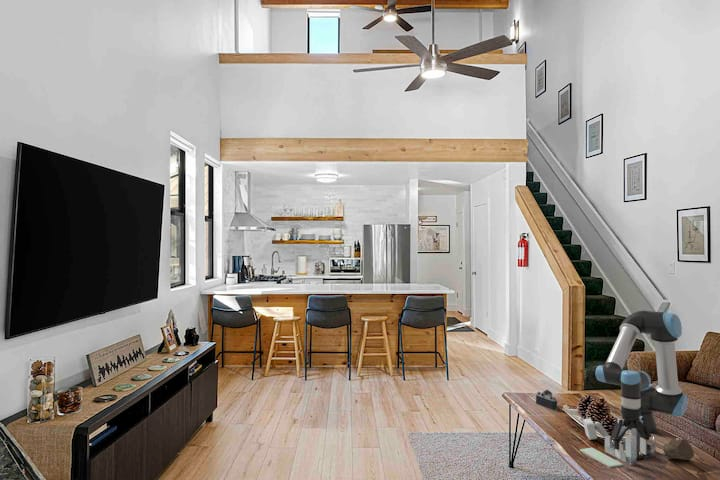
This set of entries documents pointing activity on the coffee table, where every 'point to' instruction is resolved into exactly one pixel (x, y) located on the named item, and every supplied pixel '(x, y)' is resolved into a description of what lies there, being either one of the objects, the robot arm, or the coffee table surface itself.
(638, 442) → the vise
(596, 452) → the pad
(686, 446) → the rock
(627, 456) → the white slotted block
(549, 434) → the coffee table surface
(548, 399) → the camera
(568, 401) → the coffee table surface
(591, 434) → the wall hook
